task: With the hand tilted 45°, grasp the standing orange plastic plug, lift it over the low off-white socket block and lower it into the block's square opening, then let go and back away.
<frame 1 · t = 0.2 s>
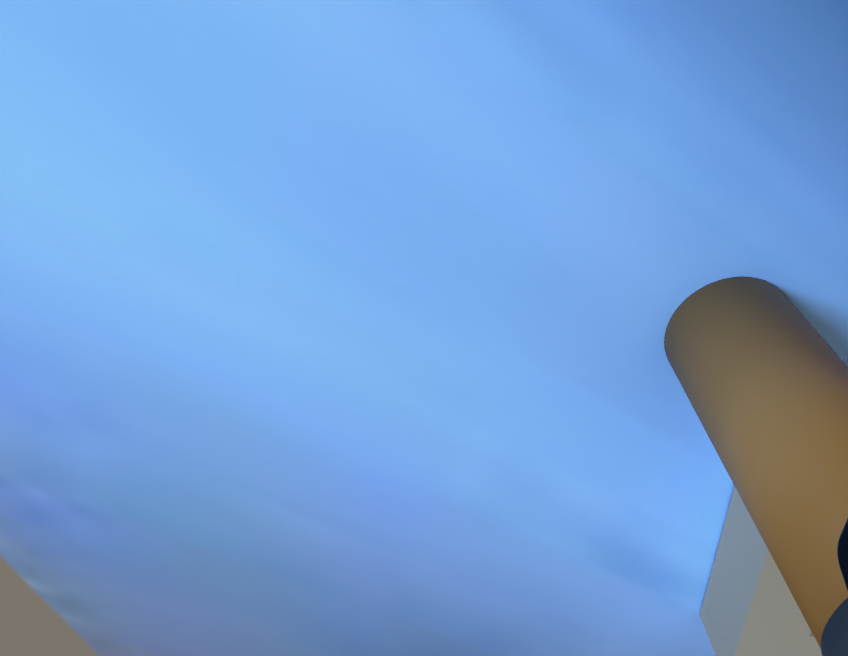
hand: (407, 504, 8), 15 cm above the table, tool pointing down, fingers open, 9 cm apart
plug: (728, 333, 24), on the table
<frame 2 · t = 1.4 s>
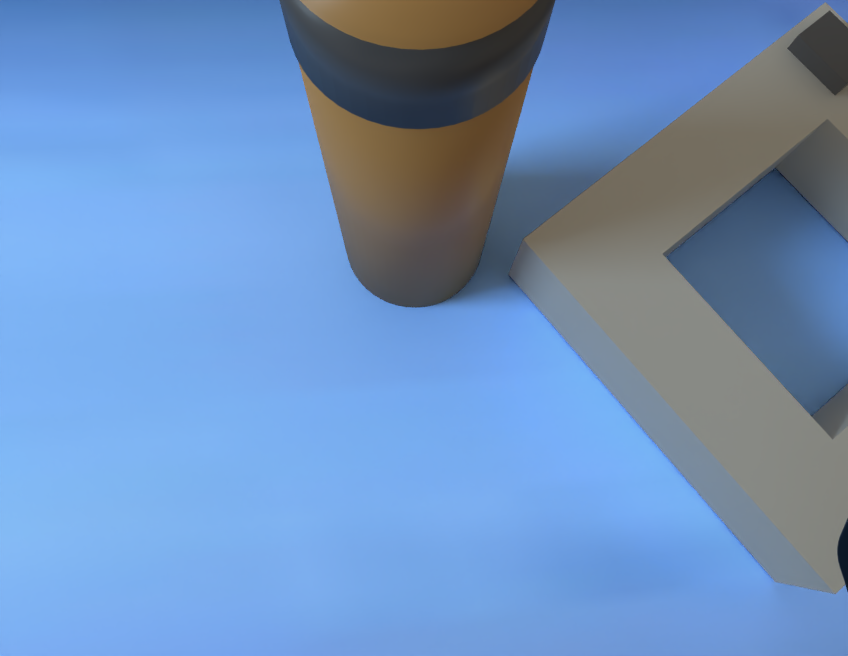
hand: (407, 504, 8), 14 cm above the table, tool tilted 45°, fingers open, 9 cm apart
plug: (414, 241, 23), on the table
socket block: (775, 302, 22), on the table
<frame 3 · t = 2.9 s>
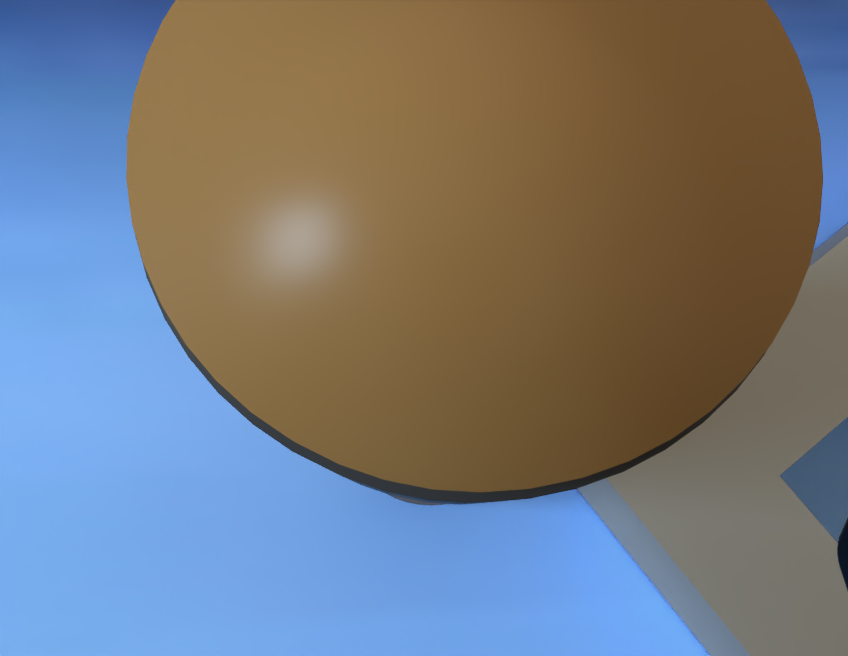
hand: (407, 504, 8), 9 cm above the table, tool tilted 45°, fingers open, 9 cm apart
plug: (430, 412, 17), on the table
when the fingers open (8 cm above the table, at t = 9.0 s): plug drops 1 cm, resting in socket block.
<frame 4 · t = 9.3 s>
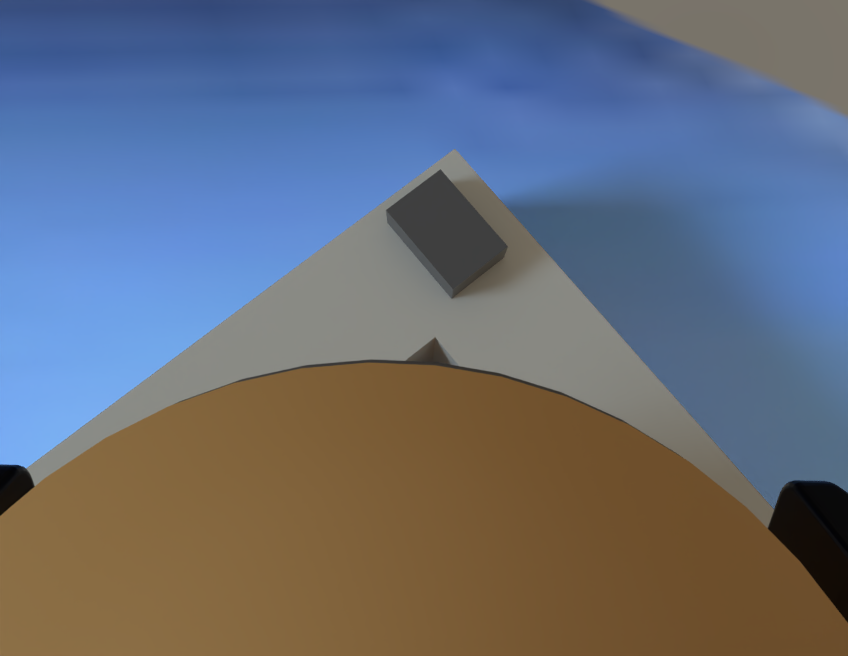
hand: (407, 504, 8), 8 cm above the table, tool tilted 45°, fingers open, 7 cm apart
plug: (408, 582, 15), resting in socket block
socket block: (409, 578, 15), on the table
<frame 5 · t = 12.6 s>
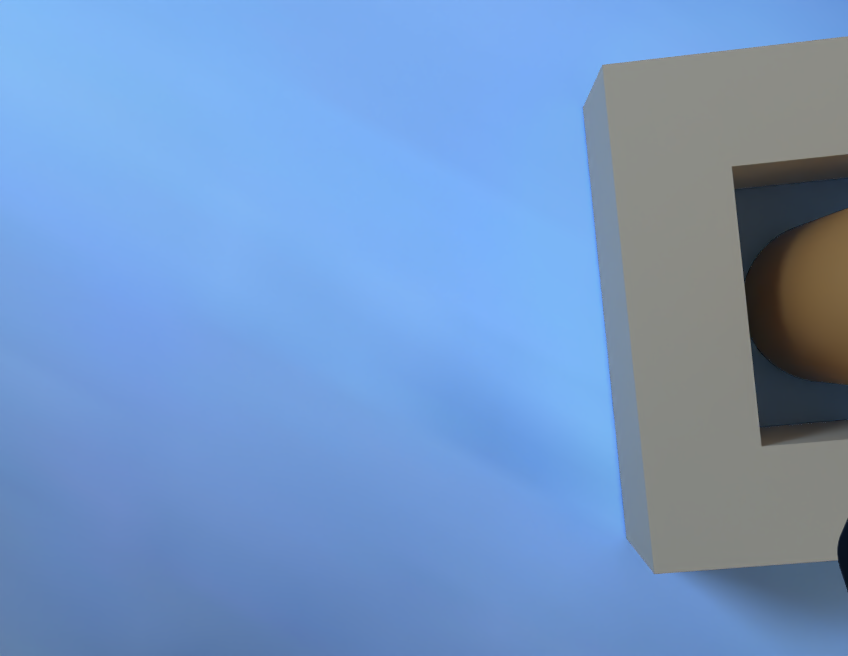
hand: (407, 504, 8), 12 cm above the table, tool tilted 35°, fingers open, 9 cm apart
plug: (824, 302, 19), resting in socket block
socket block: (826, 300, 19), on the table
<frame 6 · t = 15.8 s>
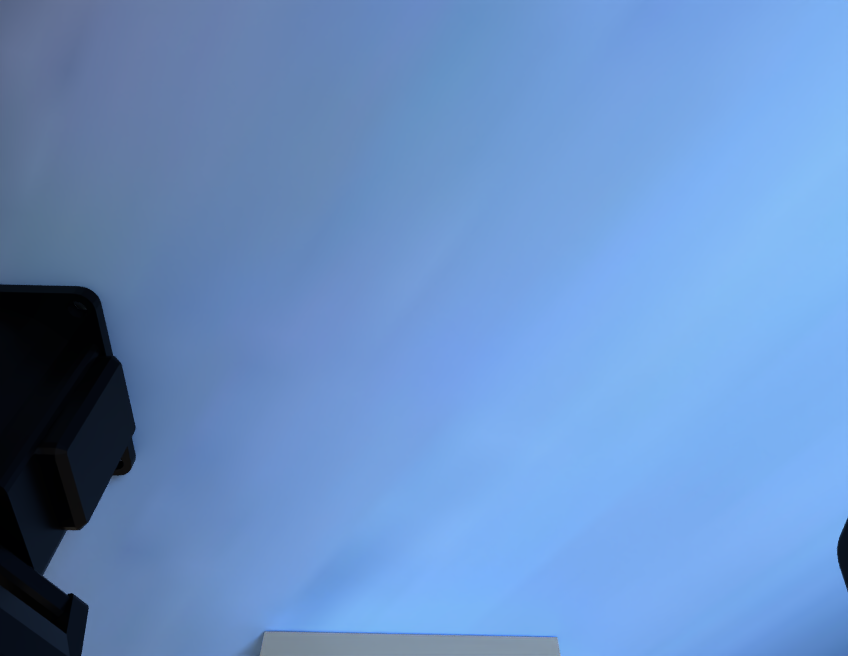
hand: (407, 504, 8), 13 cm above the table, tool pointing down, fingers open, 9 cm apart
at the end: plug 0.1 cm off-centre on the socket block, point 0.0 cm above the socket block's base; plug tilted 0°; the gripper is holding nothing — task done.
